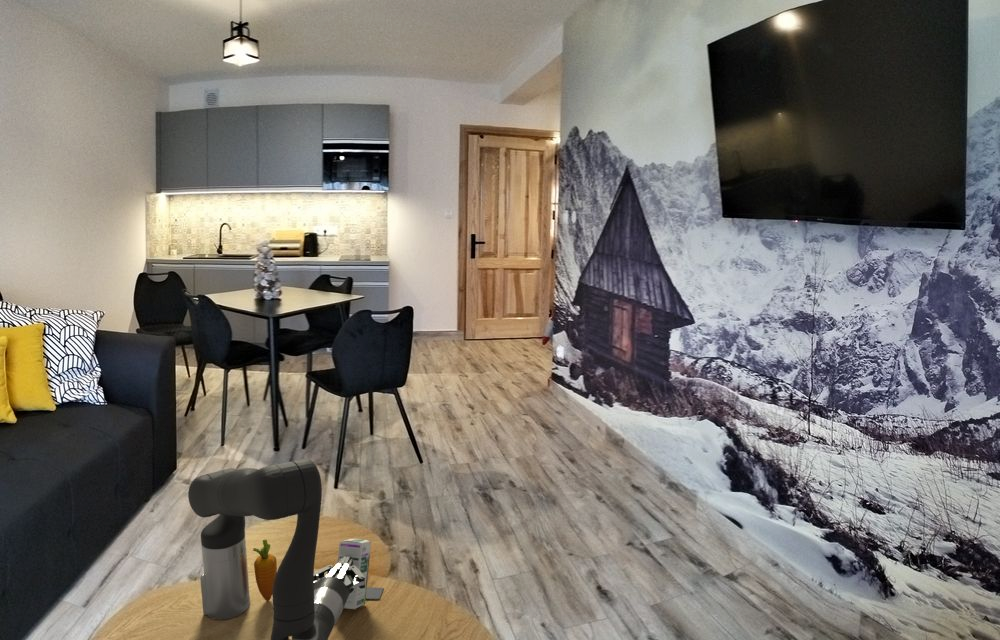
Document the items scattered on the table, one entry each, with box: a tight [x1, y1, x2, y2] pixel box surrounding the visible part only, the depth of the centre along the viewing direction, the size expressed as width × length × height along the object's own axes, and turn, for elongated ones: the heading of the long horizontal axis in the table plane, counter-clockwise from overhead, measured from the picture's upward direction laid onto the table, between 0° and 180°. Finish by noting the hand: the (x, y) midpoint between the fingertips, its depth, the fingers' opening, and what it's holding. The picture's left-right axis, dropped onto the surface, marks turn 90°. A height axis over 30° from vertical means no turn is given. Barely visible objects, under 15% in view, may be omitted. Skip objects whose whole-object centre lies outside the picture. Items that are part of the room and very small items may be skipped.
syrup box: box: [336, 538, 372, 610], centre depth 151 cm, size 6×6×14 cm
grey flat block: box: [365, 586, 384, 601], centre depth 156 cm, size 8×4×1 cm, turn 88°
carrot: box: [252, 539, 278, 602], centre depth 152 cm, size 5×5×15 cm
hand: (347, 559), depth 149 cm, fingers closed
